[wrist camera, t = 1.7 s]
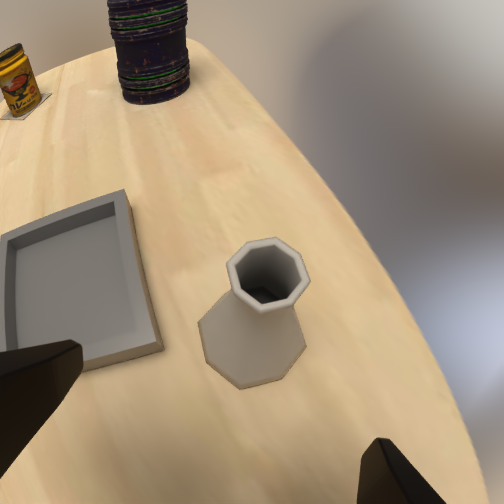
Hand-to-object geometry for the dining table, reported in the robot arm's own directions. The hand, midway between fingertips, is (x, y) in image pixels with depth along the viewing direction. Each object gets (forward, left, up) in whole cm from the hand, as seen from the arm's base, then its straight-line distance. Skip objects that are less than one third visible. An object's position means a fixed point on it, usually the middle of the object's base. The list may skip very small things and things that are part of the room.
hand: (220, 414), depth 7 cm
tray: (-9, +12, -12) cm, 19 cm away
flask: (+4, +4, -12) cm, 13 cm away
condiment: (-20, +50, -12) cm, 55 cm away
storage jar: (+3, +40, -12) cm, 42 cm away
